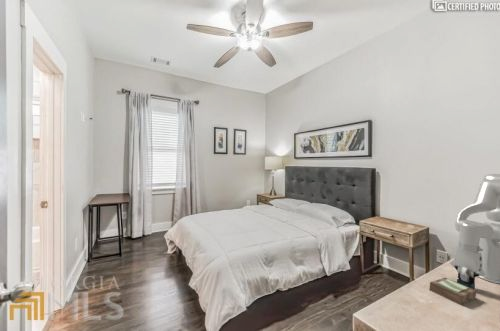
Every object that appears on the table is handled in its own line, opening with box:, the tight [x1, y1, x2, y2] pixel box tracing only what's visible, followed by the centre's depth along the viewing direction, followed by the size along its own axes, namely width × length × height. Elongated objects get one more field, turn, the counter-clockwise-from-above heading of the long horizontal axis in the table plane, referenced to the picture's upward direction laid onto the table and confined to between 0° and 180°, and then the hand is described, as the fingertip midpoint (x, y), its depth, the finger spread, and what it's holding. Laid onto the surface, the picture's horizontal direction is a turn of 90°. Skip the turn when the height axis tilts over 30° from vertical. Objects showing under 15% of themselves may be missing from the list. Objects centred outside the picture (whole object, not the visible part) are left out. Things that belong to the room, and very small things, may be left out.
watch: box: [456, 267, 476, 290], centre depth 114 cm, size 6×8×11 cm
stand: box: [429, 277, 477, 306], centre depth 106 cm, size 14×12×4 cm
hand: (465, 281), depth 114 cm, fingers closed on watch, 3 cm apart
